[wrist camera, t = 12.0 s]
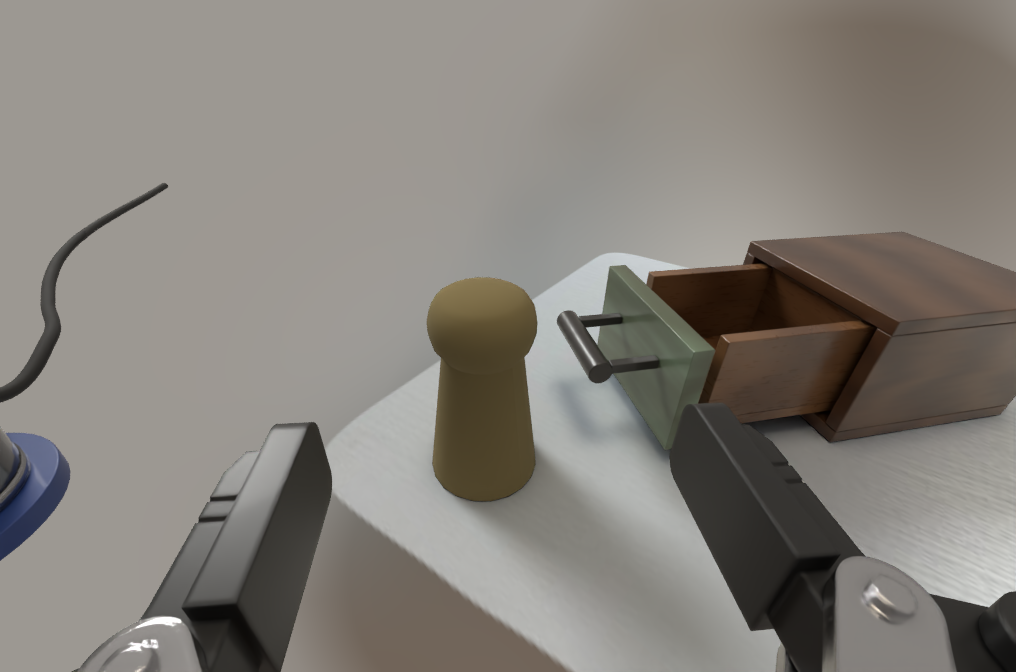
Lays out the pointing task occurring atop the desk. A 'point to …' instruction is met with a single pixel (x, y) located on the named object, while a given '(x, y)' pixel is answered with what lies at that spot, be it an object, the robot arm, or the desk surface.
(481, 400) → the olive peg doll
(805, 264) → the cabinet
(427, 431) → the desk surface
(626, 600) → the desk surface
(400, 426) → the desk surface
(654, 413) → the drawer
